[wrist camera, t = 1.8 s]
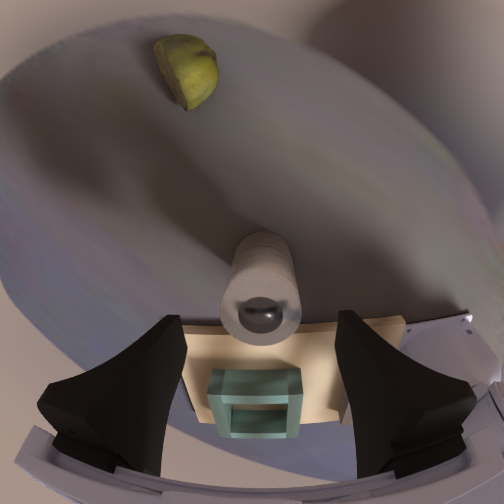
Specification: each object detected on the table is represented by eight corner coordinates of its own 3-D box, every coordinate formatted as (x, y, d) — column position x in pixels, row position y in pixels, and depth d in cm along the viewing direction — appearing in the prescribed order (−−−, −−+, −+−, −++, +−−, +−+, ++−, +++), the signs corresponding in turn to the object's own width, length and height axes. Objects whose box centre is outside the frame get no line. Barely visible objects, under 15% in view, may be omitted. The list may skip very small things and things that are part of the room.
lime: (206, 119, 16) (184, 112, 11) (147, 95, 15) (111, 83, 11) (239, 64, 14) (229, 37, 10) (178, 41, 14) (151, 14, 9)
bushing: (290, 230, 19) (303, 278, 12) (291, 281, 20) (300, 345, 14) (232, 232, 19) (214, 281, 12) (237, 283, 20) (224, 346, 14)
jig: (401, 314, 21) (420, 344, 17) (369, 407, 26) (377, 434, 22) (172, 324, 22) (157, 357, 18) (201, 414, 28) (195, 442, 24)
